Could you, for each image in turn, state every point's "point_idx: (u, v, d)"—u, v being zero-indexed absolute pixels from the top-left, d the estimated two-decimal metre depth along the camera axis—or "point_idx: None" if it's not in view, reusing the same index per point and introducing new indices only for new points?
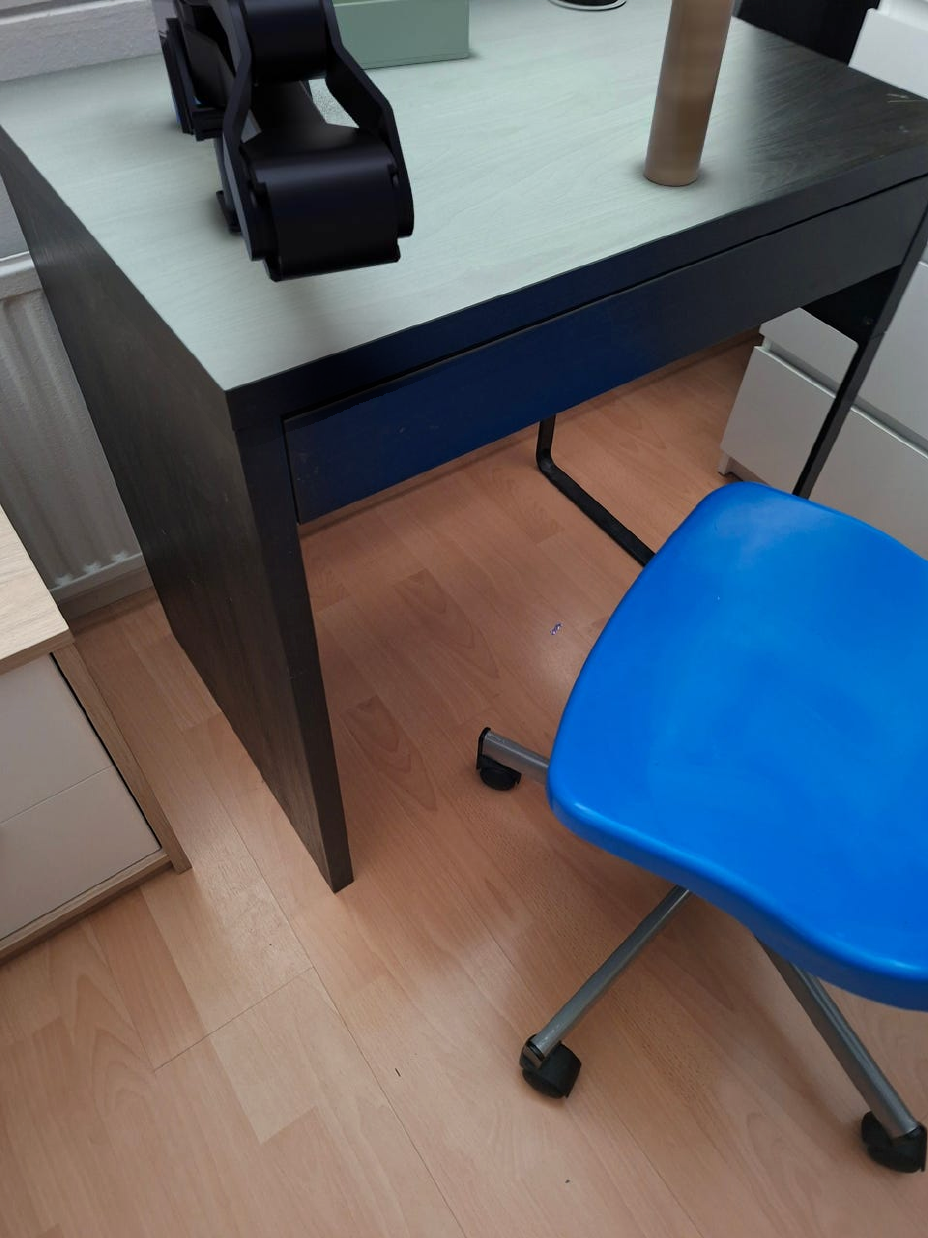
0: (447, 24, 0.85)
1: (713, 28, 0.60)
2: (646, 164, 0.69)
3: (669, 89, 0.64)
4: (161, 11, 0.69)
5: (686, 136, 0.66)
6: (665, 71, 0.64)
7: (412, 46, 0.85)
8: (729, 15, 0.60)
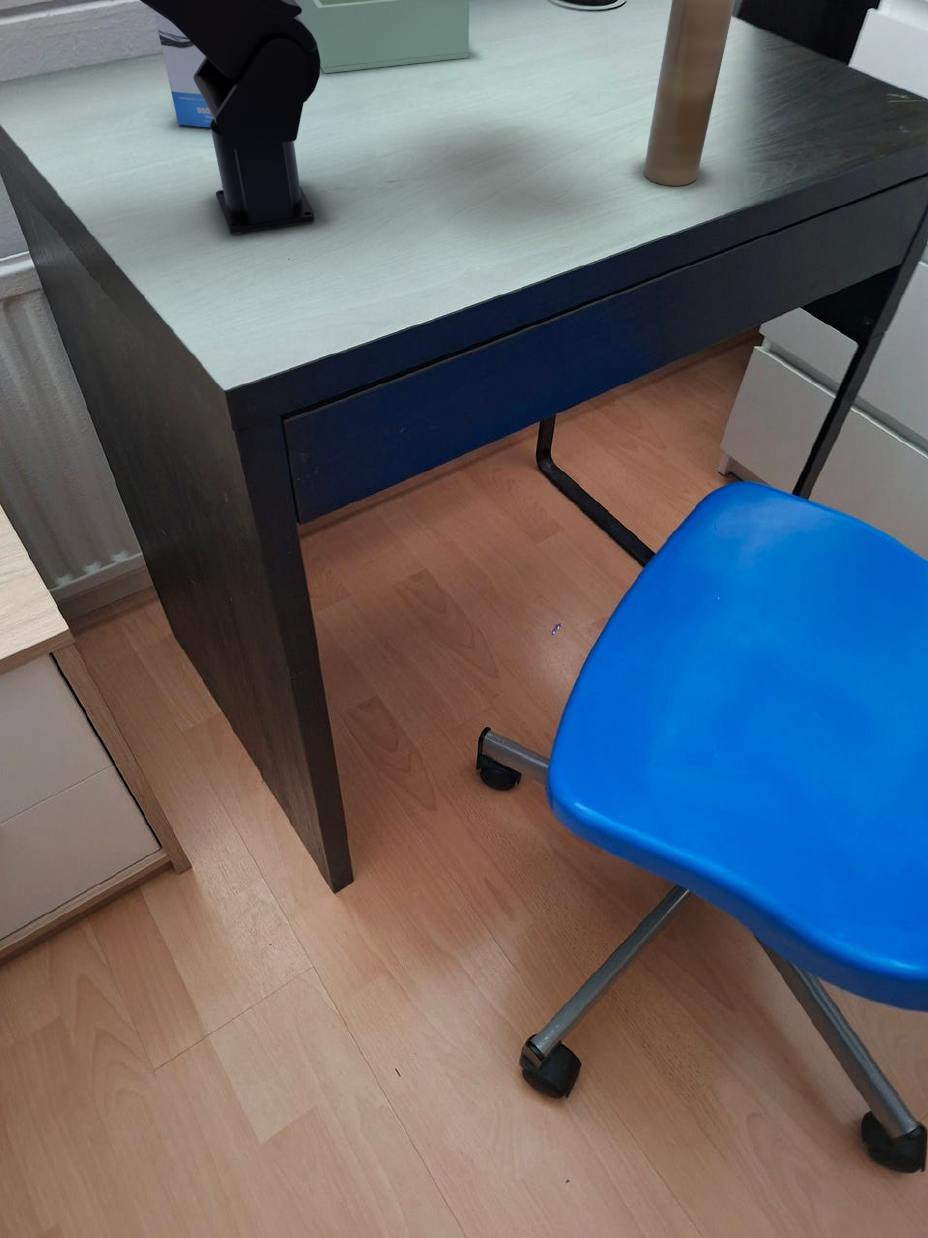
0: (447, 24, 0.85)
1: (713, 28, 0.60)
2: (646, 164, 0.69)
3: (669, 89, 0.64)
4: None
5: (686, 136, 0.66)
6: (665, 71, 0.64)
7: (412, 46, 0.85)
8: (729, 15, 0.60)
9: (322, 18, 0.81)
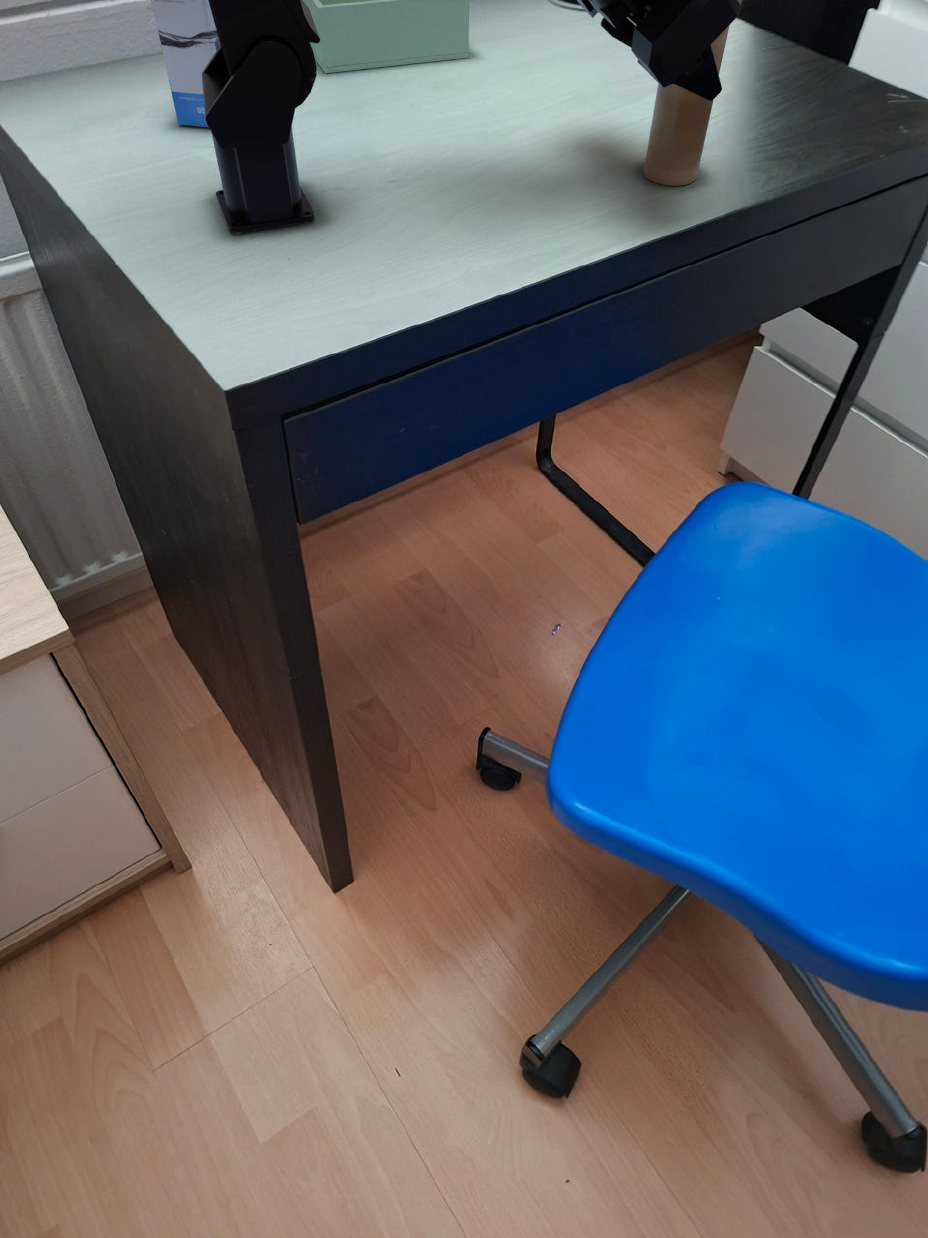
0: (447, 24, 0.85)
1: None
2: (646, 164, 0.69)
3: (670, 89, 0.64)
4: (161, 11, 0.69)
5: (686, 136, 0.66)
6: None
7: (412, 46, 0.85)
8: None
9: (322, 18, 0.81)
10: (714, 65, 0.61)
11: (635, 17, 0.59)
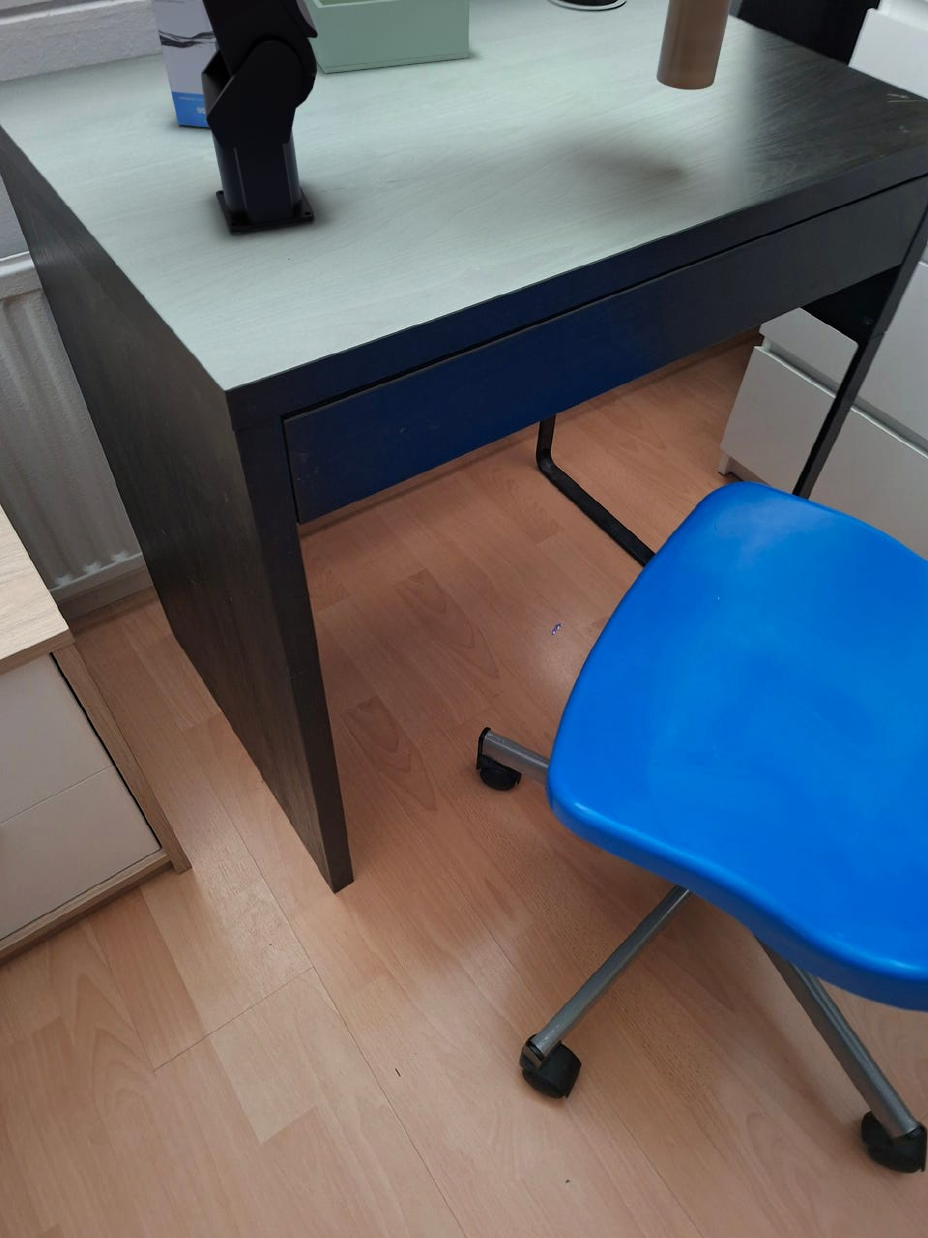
0: (447, 24, 0.85)
1: None
2: (659, 67, 0.64)
3: None
4: (161, 11, 0.69)
5: (703, 32, 0.61)
6: None
7: (412, 46, 0.85)
8: None
9: (322, 18, 0.81)
10: None
11: None
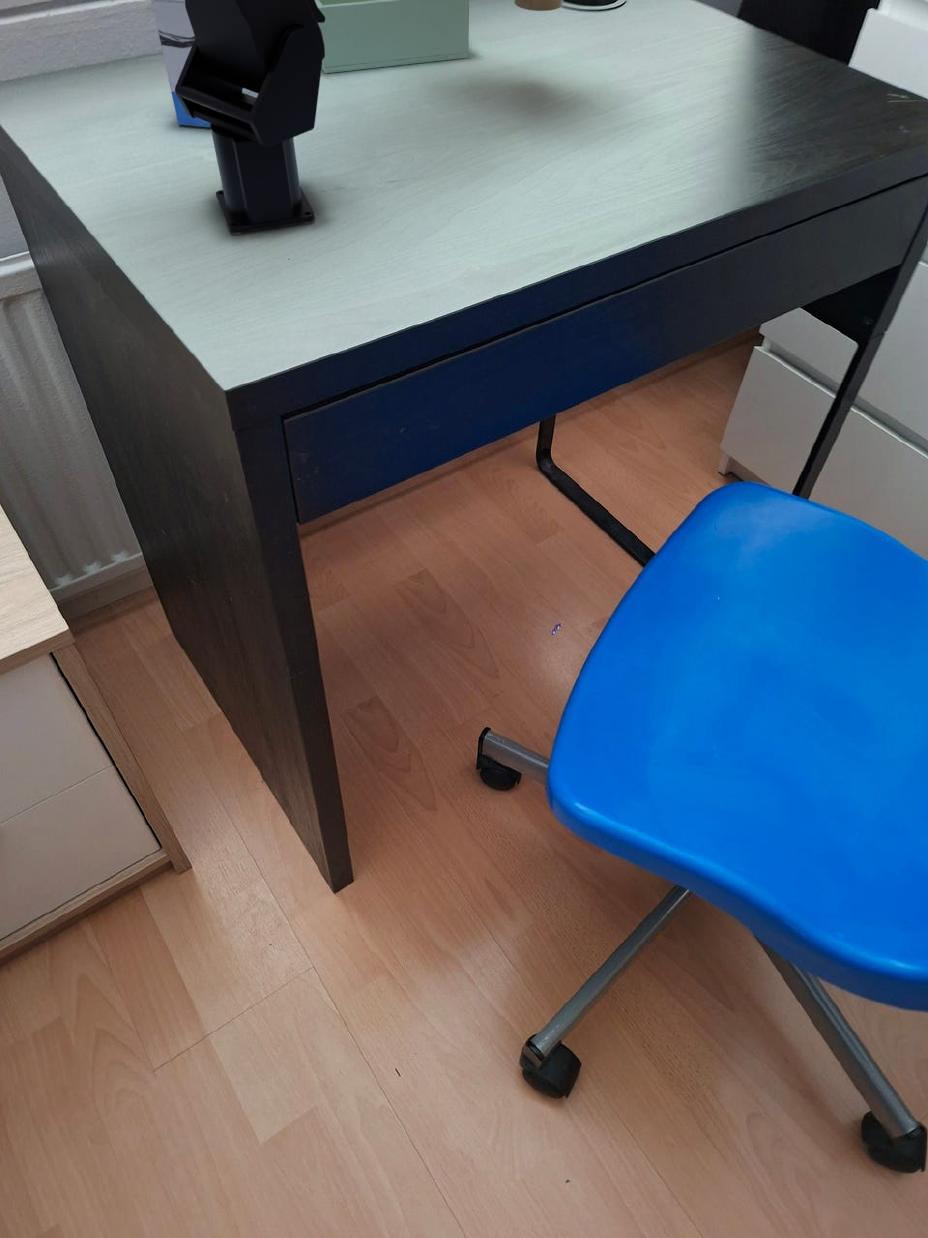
0: (447, 24, 0.85)
1: None
2: None
3: None
4: (161, 11, 0.69)
5: None
6: None
7: (412, 46, 0.85)
8: None
9: None
10: None
11: None
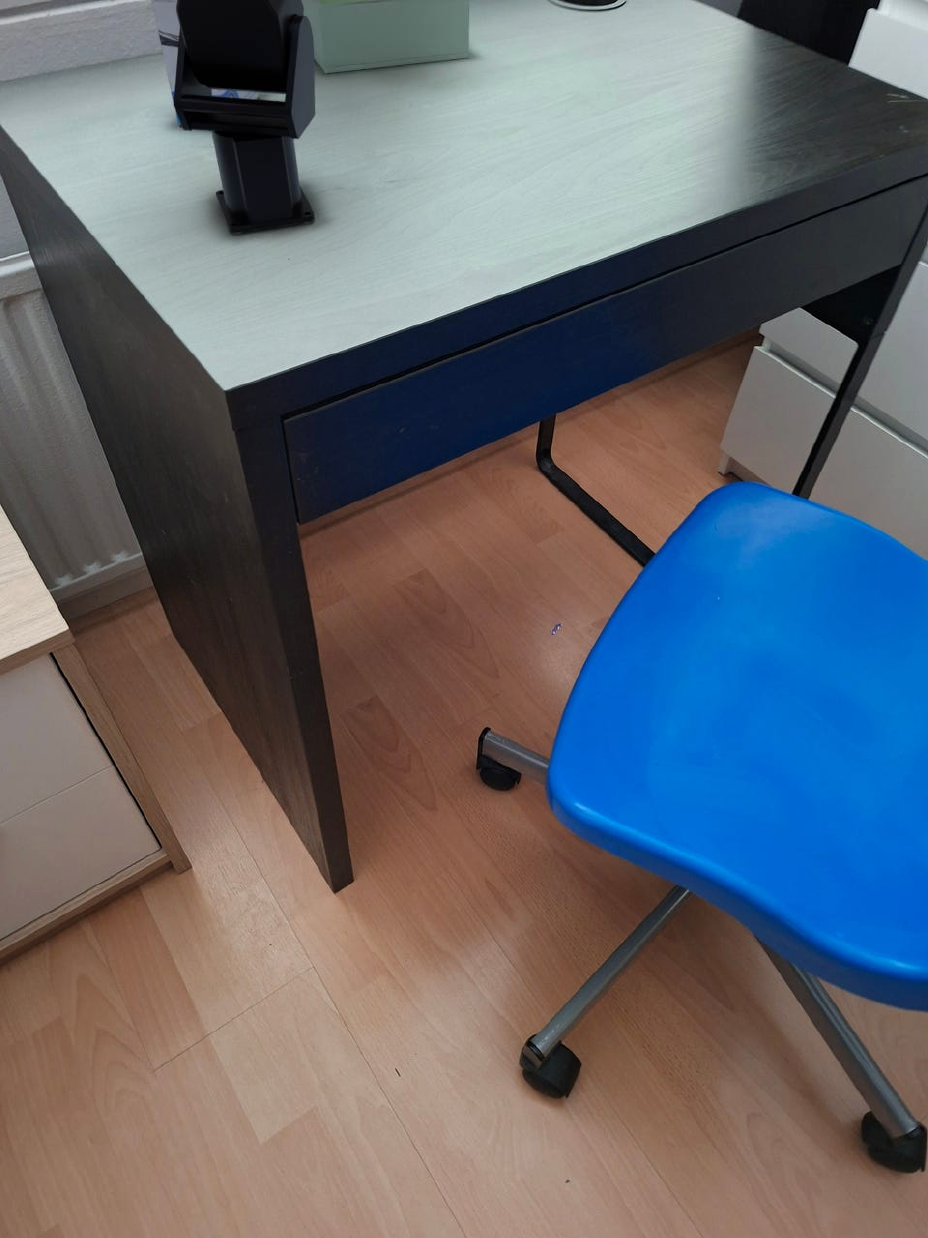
0: (447, 24, 0.85)
1: None
2: None
3: None
4: (161, 11, 0.69)
5: None
6: None
7: (412, 46, 0.85)
8: None
9: (322, 18, 0.81)
10: None
11: None
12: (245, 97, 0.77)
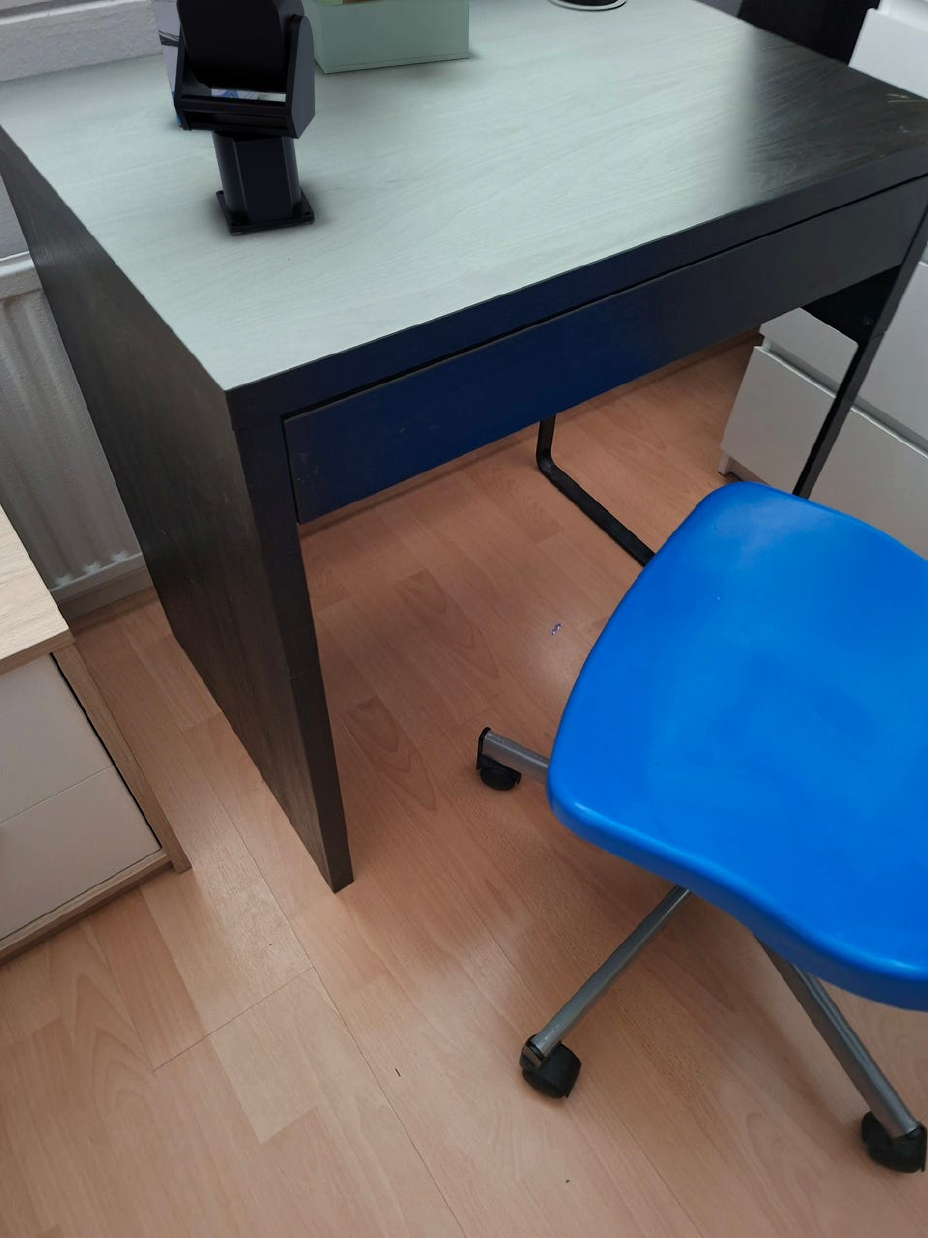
0: (447, 24, 0.85)
1: None
2: None
3: None
4: (161, 11, 0.69)
5: None
6: None
7: (412, 46, 0.85)
8: None
9: (322, 18, 0.81)
10: None
11: None
12: (245, 97, 0.77)
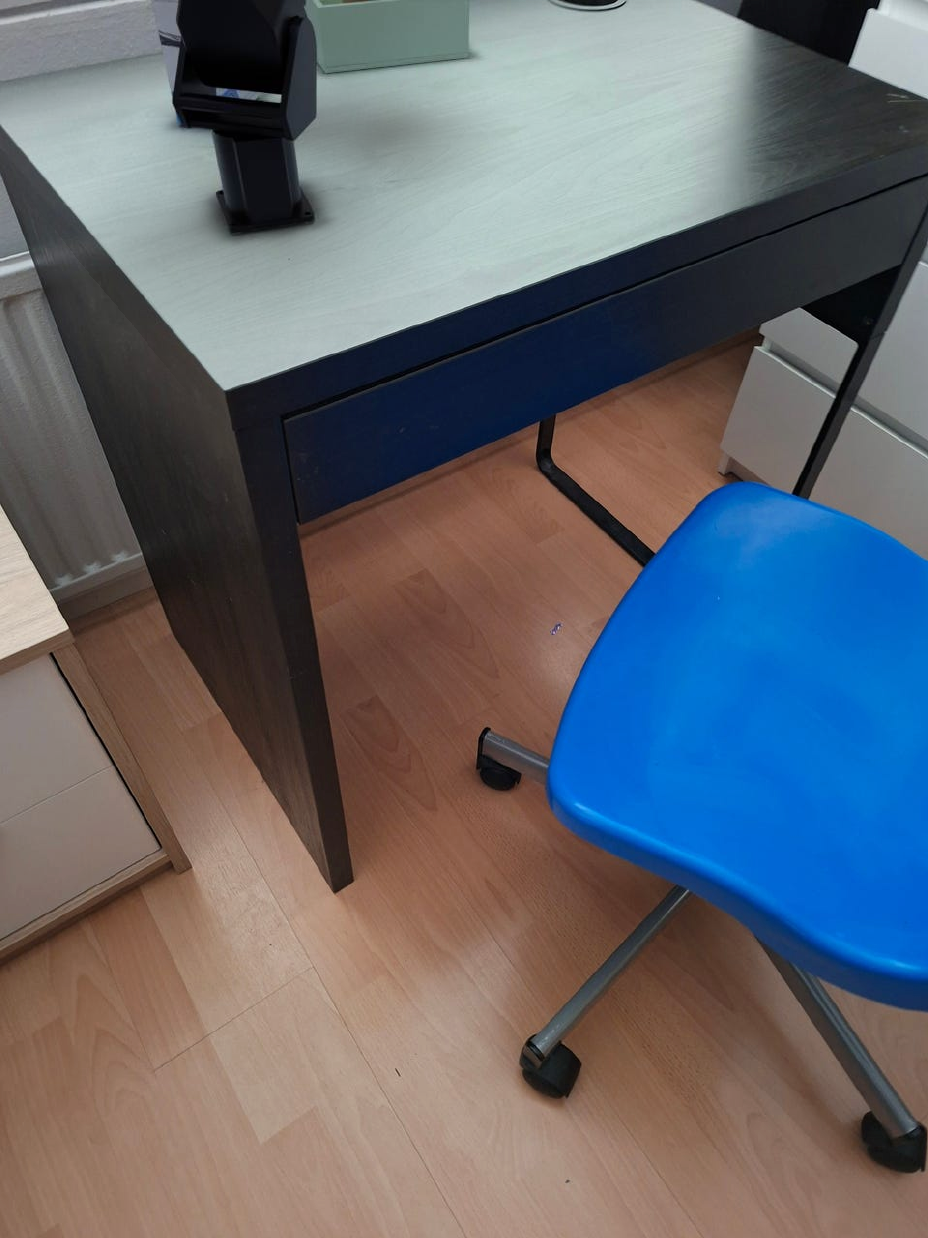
0: (447, 24, 0.85)
1: None
2: None
3: None
4: (161, 11, 0.69)
5: None
6: None
7: (412, 46, 0.85)
8: None
9: (322, 18, 0.81)
10: None
11: None
12: (245, 97, 0.77)
